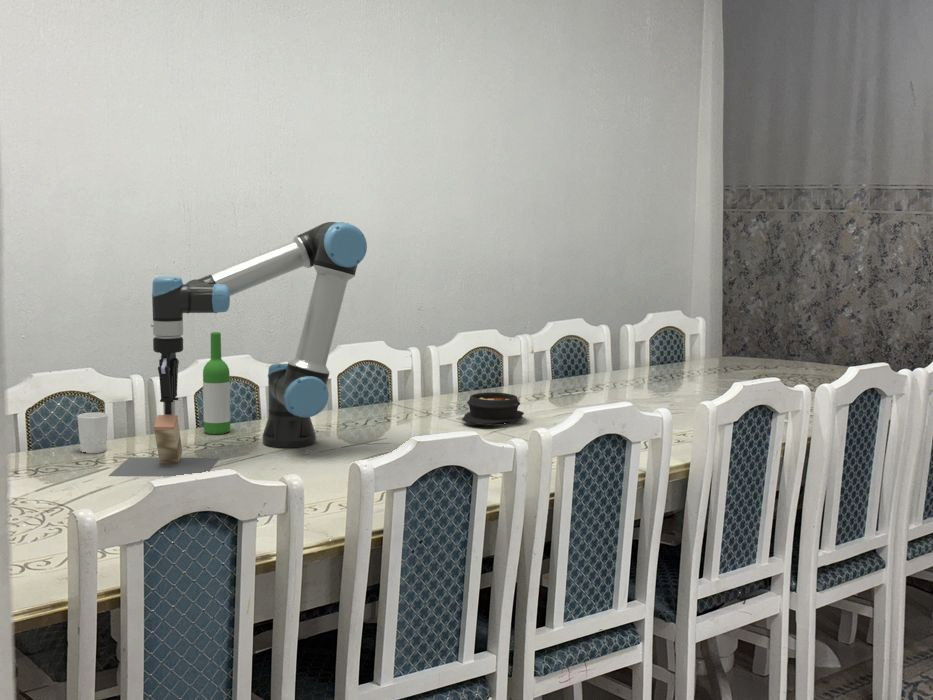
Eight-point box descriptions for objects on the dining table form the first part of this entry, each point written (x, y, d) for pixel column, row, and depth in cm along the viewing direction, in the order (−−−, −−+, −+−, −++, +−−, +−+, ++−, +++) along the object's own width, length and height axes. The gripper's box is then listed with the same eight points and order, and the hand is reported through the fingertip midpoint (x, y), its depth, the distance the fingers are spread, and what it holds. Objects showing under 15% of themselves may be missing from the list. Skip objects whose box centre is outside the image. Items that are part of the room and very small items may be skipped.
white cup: (74, 450, 298) (73, 414, 297) (102, 446, 303) (101, 411, 302) (84, 455, 292) (83, 419, 291) (113, 451, 297) (112, 415, 296)
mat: (220, 459, 290) (220, 457, 290) (205, 478, 270) (205, 476, 270) (129, 458, 289) (129, 457, 289) (108, 477, 269) (108, 476, 269)
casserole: (499, 432, 331) (499, 405, 330) (447, 425, 340) (448, 398, 339) (537, 419, 352) (537, 393, 351) (487, 412, 361) (488, 387, 360)
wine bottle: (211, 436, 318) (209, 334, 314) (199, 431, 324) (197, 332, 320) (235, 433, 323) (233, 333, 319) (222, 428, 329) (221, 330, 325)
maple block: (182, 451, 287) (177, 415, 281) (178, 463, 283) (173, 426, 277) (163, 451, 287) (157, 415, 281) (159, 463, 283) (153, 426, 276)
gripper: (159, 333, 287) (161, 420, 290) (147, 339, 274) (148, 430, 277) (188, 333, 287) (189, 421, 290) (177, 339, 274) (178, 431, 277)
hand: (169, 425), depth 284 cm, fingers closed
